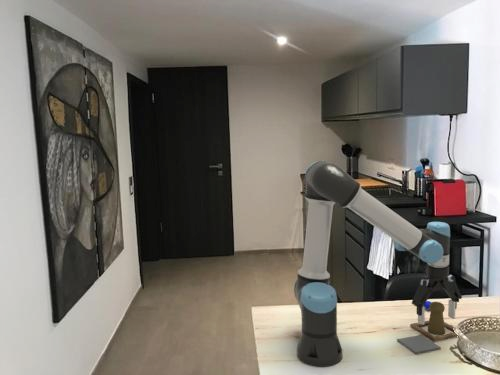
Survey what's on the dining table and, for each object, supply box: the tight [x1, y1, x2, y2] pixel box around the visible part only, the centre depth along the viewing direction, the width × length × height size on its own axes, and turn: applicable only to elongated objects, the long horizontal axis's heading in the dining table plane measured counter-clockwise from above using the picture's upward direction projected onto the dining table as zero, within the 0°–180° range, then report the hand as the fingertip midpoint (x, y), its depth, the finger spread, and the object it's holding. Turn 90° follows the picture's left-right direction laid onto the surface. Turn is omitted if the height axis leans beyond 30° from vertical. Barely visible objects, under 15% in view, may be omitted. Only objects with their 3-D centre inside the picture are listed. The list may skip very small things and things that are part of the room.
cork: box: [427, 301, 446, 336], centre depth 162 cm, size 6×6×11 cm
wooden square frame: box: [409, 320, 458, 343], centre depth 163 cm, size 13×13×1 cm
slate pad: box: [396, 334, 442, 355], centre depth 153 cm, size 10×10×1 cm
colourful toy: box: [423, 300, 431, 310], centre depth 184 cm, size 8×3×6 cm, turn 20°
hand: (436, 320), depth 162 cm, fingers open, 13 cm apart
